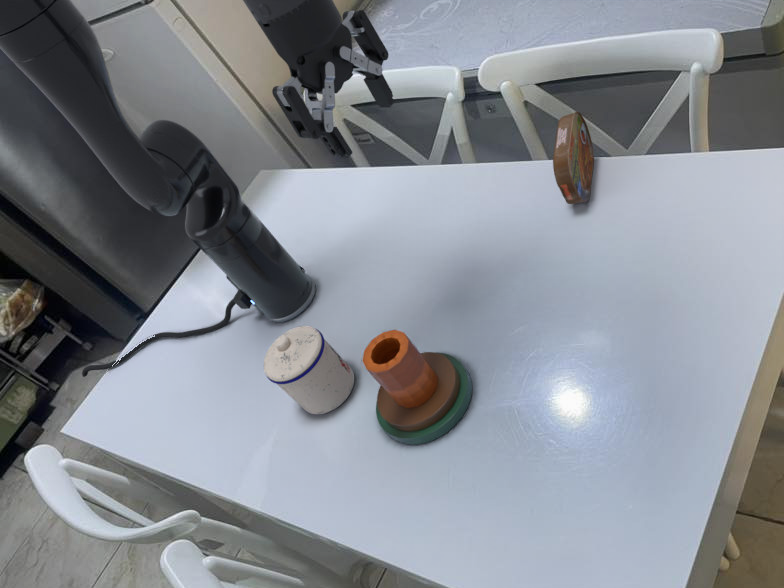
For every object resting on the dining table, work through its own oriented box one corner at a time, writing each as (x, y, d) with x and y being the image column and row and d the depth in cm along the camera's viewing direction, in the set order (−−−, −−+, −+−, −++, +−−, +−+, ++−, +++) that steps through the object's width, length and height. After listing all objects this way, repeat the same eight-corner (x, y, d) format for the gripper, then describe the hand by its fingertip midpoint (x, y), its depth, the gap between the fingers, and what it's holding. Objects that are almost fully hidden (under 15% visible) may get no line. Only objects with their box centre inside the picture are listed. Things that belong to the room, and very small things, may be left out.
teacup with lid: (368, 370, 98) (322, 318, 89) (332, 424, 95) (281, 376, 86) (312, 353, 105) (264, 304, 96) (277, 403, 101) (224, 357, 93)
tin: (588, 213, 99) (570, 168, 93) (566, 217, 100) (548, 172, 94) (595, 144, 107) (580, 98, 101) (575, 149, 108) (559, 103, 102)
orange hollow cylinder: (386, 400, 89) (353, 364, 83) (412, 362, 91) (382, 325, 85) (420, 413, 86) (388, 377, 80) (446, 374, 88) (417, 336, 82)
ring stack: (366, 440, 90) (354, 428, 88) (402, 357, 97) (391, 344, 95) (453, 449, 84) (442, 436, 82) (484, 360, 91) (475, 346, 88)
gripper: (303, -44, 73) (378, 89, 85) (216, 41, 68) (308, 170, 80) (352, -52, 69) (424, 90, 81) (263, 38, 64) (353, 175, 75)
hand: (366, 130), depth 80 cm, fingers open, 8 cm apart
